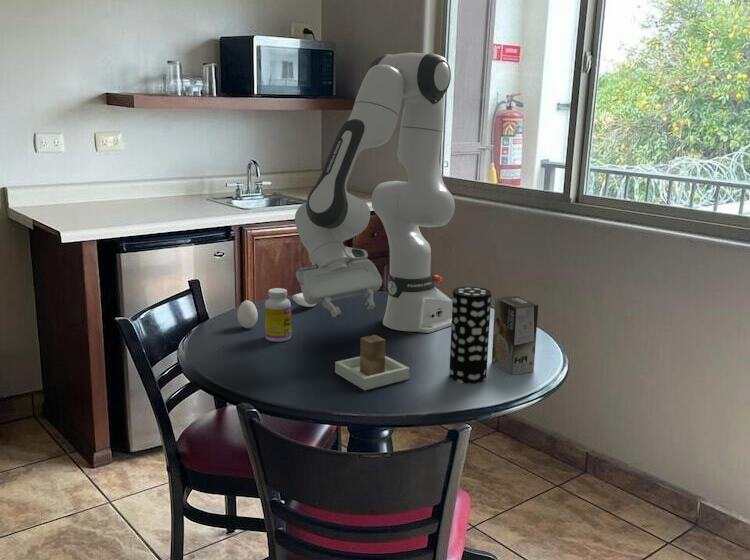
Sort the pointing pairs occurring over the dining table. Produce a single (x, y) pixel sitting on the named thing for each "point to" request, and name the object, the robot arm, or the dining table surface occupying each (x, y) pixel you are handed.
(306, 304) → the banana
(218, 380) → the dining table surface
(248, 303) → the egg
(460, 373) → the spotted tube
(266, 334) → the supplement bottle
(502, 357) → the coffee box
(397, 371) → the dish
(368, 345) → the block
